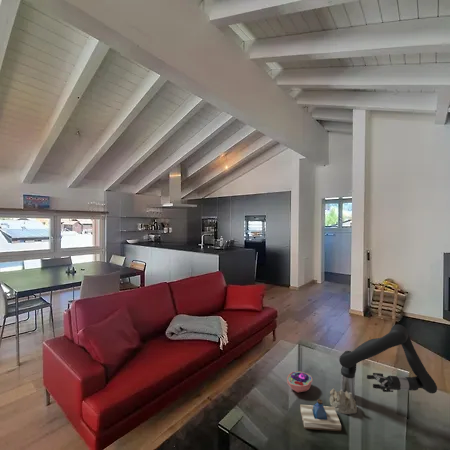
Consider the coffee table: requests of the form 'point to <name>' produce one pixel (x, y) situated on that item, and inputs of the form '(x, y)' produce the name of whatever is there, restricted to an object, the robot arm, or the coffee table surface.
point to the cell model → (299, 381)
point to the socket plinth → (320, 424)
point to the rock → (343, 402)
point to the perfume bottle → (319, 410)
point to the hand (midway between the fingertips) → (370, 381)
